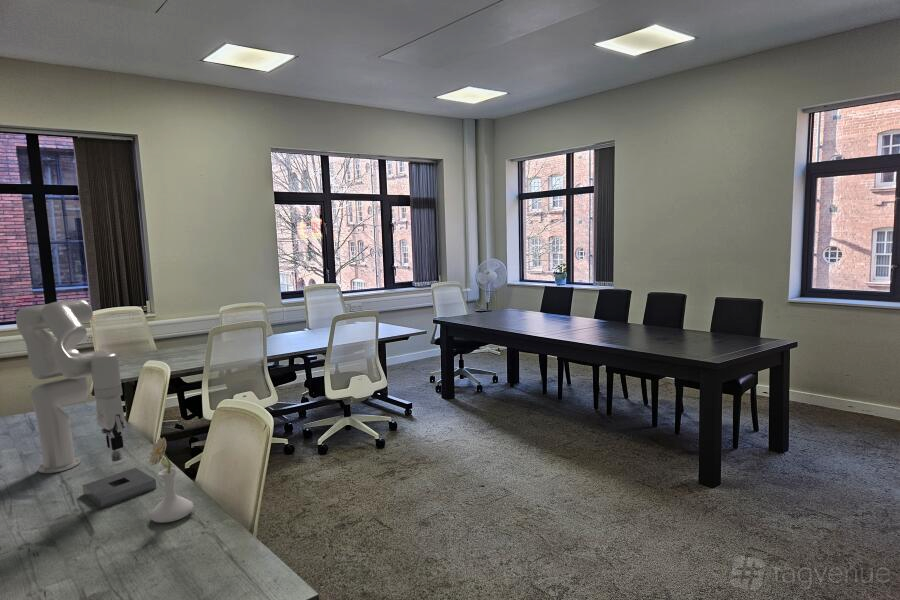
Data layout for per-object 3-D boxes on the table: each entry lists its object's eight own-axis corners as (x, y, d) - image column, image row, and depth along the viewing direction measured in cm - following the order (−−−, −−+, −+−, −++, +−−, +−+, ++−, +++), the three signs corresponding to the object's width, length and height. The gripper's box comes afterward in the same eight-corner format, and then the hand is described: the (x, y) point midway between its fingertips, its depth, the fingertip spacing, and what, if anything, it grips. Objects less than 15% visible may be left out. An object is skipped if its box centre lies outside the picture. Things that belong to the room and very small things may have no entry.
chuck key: (104, 461, 175) (100, 428, 174) (125, 455, 180) (121, 423, 179) (108, 463, 174) (104, 430, 172) (128, 457, 178) (124, 424, 177)
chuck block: (83, 494, 177) (82, 485, 177) (136, 476, 189) (135, 467, 189) (102, 507, 167) (100, 498, 167) (156, 487, 179) (155, 479, 179)
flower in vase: (153, 512, 163) (143, 431, 160) (195, 503, 167) (186, 424, 164) (148, 533, 151) (138, 446, 148) (193, 523, 155) (184, 438, 152)
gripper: (85, 391, 177) (93, 446, 179) (104, 398, 166) (112, 456, 168) (111, 386, 182) (118, 439, 184) (131, 392, 172) (138, 448, 174)
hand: (115, 447), depth 176 cm, fingers closed on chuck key, 3 cm apart
